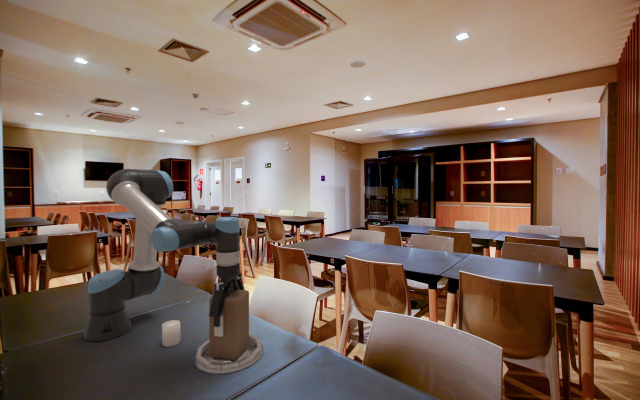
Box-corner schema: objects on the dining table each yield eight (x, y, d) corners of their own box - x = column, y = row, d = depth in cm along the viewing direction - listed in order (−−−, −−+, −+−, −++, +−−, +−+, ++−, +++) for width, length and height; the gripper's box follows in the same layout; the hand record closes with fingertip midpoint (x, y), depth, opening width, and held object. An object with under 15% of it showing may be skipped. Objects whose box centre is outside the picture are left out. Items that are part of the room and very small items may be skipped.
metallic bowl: (179, 369, 94) (179, 361, 94) (218, 335, 115) (218, 329, 115) (245, 378, 89) (245, 370, 89) (272, 341, 111) (272, 334, 111)
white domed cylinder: (158, 345, 108) (157, 326, 108) (170, 337, 114) (169, 319, 114) (173, 347, 107) (172, 328, 107) (184, 339, 113) (183, 320, 112)
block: (236, 361, 96) (236, 300, 95) (208, 357, 98) (207, 297, 98) (250, 345, 106) (250, 289, 105) (224, 342, 108) (224, 287, 107)
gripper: (218, 274, 88) (219, 346, 89) (254, 255, 112) (255, 312, 113) (195, 273, 90) (197, 343, 91) (235, 255, 114) (236, 310, 115)
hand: (229, 326), depth 102 cm, fingers open, 13 cm apart
